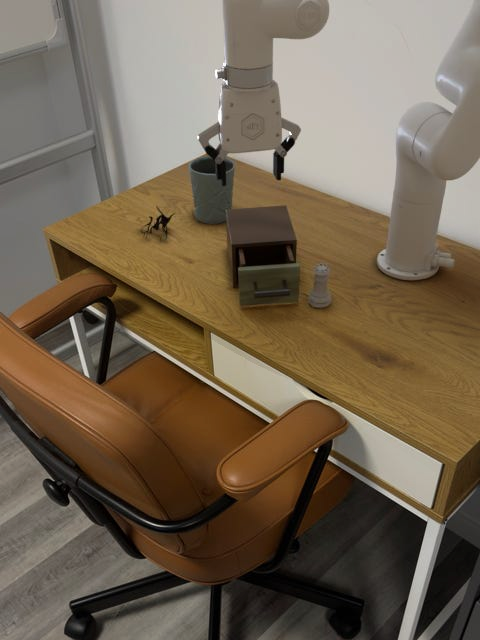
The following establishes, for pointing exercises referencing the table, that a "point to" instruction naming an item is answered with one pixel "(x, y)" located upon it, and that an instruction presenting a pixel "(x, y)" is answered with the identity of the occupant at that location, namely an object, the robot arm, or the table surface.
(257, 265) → the drawer
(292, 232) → the cabinet
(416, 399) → the table surface
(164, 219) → the creature
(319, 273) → the rook chess piece
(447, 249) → the table surface
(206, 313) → the table surface
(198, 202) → the grey green cup
